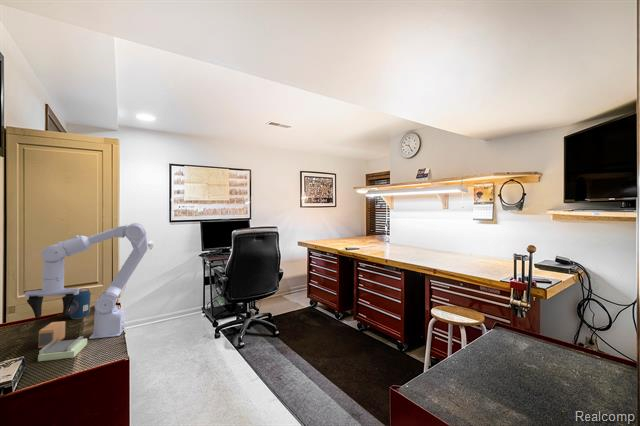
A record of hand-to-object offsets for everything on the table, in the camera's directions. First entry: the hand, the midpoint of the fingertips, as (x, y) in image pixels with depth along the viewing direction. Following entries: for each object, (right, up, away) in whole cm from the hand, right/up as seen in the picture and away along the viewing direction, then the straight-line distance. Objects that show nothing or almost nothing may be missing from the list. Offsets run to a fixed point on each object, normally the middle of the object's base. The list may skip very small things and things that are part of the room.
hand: (52, 316), depth 101 cm
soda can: (-11, -10, +24) cm, 29 cm away
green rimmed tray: (+11, -10, -7) cm, 16 cm away
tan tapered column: (0, -10, 0) cm, 10 cm away
